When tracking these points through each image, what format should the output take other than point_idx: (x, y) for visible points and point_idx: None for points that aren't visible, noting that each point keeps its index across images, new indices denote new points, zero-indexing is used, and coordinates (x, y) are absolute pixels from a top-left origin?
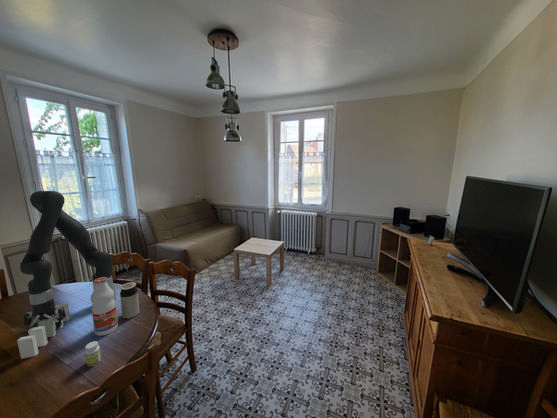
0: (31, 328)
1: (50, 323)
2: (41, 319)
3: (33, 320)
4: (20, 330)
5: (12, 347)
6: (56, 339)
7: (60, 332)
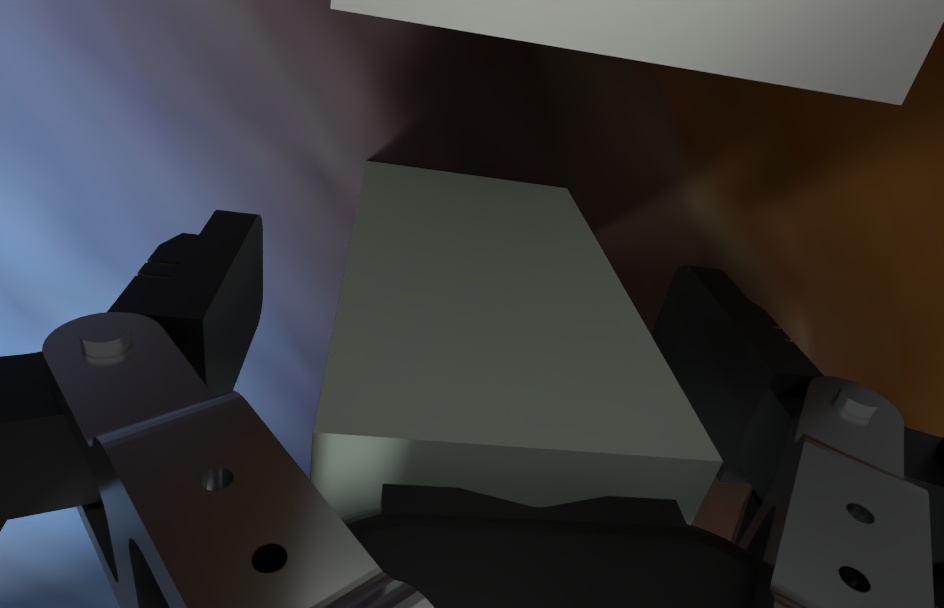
0: (891, 40)
1: (357, 340)
2: (632, 522)
3: (919, 527)
4: None
5: (937, 115)
6: (249, 6)
7: (296, 242)
